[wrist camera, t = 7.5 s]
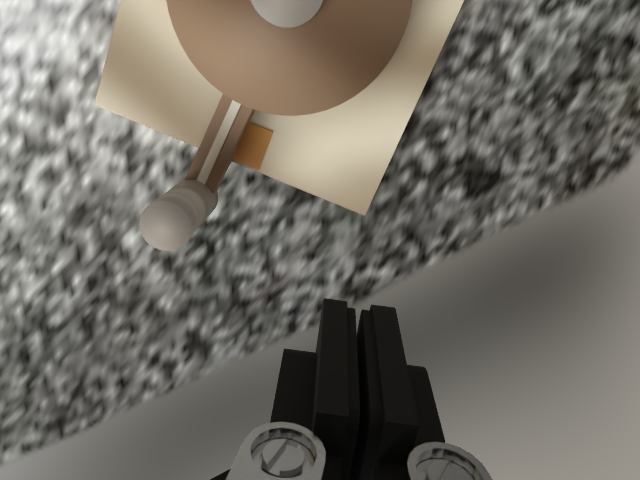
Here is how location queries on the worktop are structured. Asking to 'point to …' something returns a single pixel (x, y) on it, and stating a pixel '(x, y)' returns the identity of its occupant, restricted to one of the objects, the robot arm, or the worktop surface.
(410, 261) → the worktop surface
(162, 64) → the base board
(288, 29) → the walnut dial
